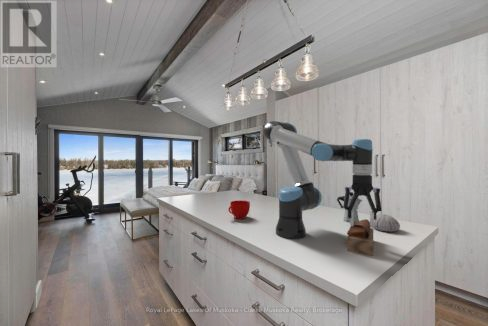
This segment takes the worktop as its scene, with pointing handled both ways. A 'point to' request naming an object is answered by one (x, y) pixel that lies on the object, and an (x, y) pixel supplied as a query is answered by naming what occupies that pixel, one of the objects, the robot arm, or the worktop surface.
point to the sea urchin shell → (386, 223)
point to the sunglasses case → (360, 229)
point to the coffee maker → (352, 209)
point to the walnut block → (361, 244)
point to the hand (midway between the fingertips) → (361, 225)
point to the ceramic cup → (239, 208)
